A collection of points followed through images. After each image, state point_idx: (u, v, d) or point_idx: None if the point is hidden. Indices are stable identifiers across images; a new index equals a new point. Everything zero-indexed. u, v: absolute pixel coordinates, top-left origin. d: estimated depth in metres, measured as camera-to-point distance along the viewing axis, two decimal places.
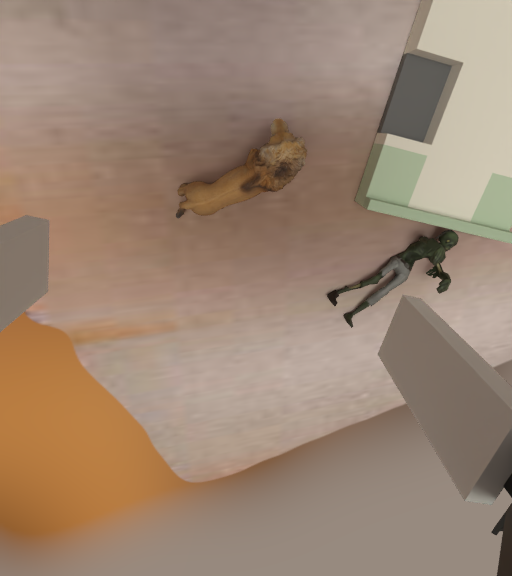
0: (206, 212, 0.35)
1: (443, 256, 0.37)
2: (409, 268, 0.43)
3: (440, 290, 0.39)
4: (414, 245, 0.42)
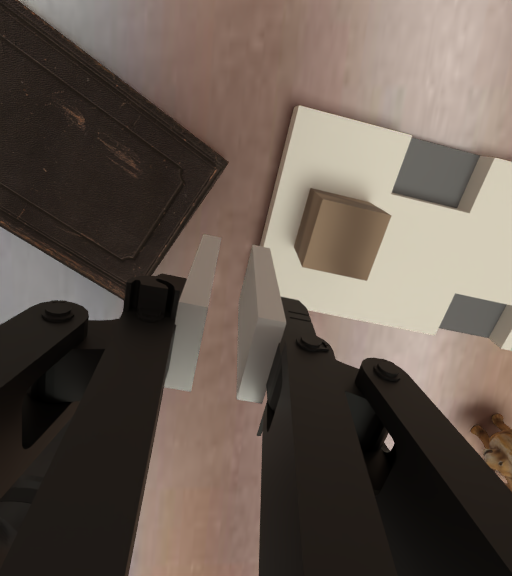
0: None
1: None
2: None
3: None
4: None
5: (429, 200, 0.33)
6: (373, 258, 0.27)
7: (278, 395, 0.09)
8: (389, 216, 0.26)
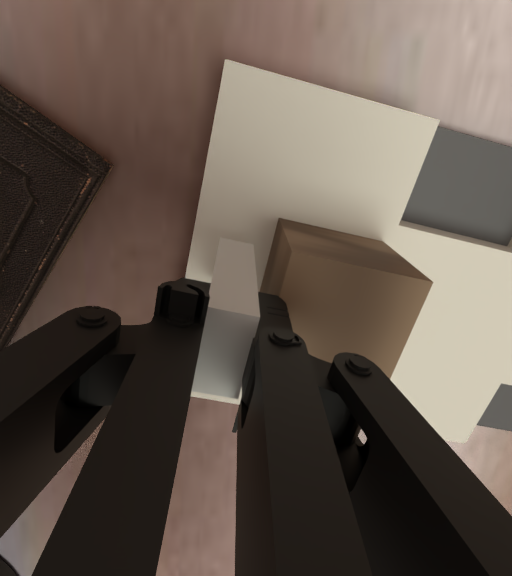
0: None
1: None
2: None
3: None
4: None
5: (462, 233, 0.19)
6: (394, 360, 0.14)
7: (252, 391, 0.09)
8: (429, 284, 0.13)
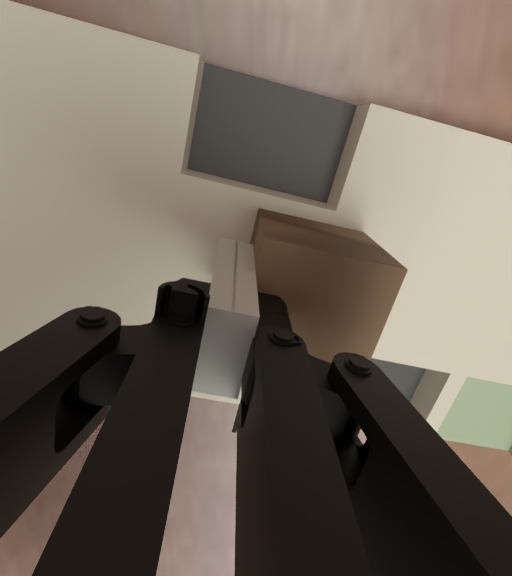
0: None
1: None
2: None
3: None
4: None
5: (275, 188, 0.18)
6: (371, 349, 0.14)
7: (252, 391, 0.09)
8: (403, 271, 0.13)
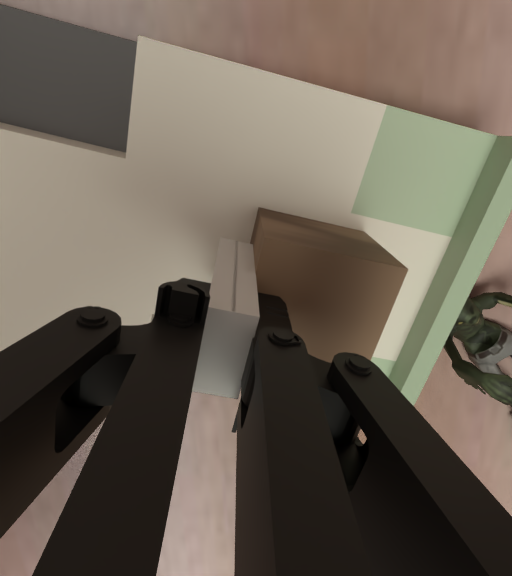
0: None
1: (505, 384, 0.17)
2: (501, 341, 0.22)
3: None
4: (453, 334, 0.22)
5: (79, 139, 0.17)
6: (371, 348, 0.14)
7: (251, 391, 0.09)
8: (404, 271, 0.13)
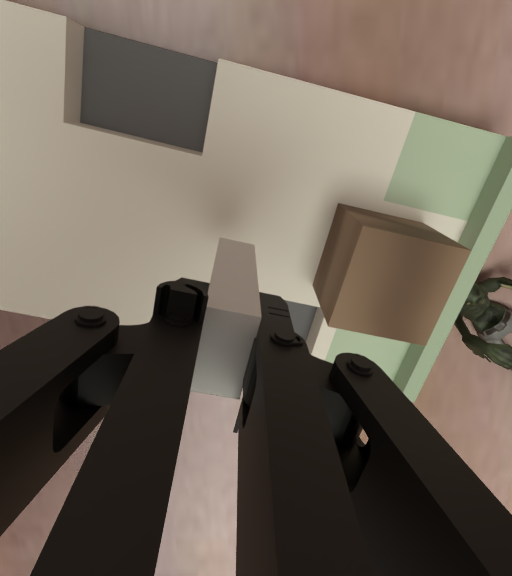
0: None
1: (506, 351, 0.21)
2: (505, 319, 0.26)
3: None
4: (463, 314, 0.26)
5: (159, 140, 0.21)
6: (437, 314, 0.18)
7: (253, 391, 0.09)
8: (467, 252, 0.16)
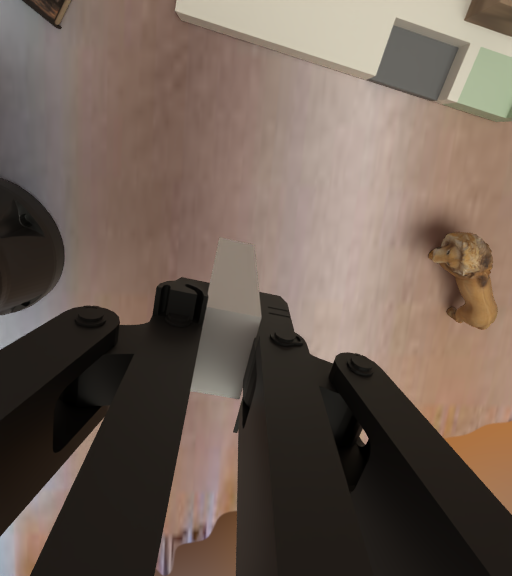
0: (496, 314, 0.39)
1: None
2: None
3: None
4: None
5: None
6: None
7: (253, 391, 0.09)
8: None
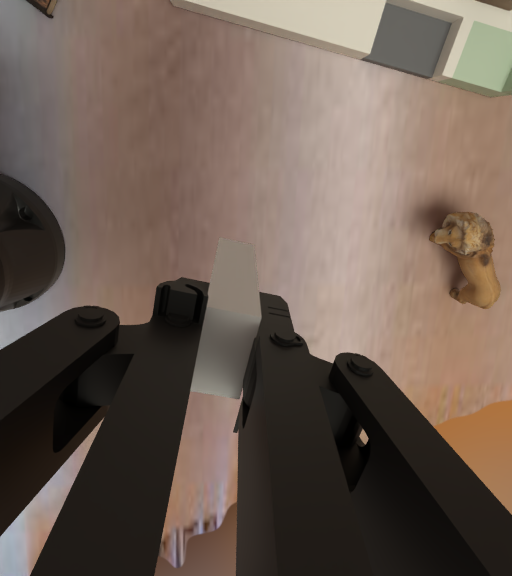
0: (499, 292, 0.40)
1: None
2: None
3: None
4: None
5: None
6: None
7: (253, 391, 0.09)
8: None
